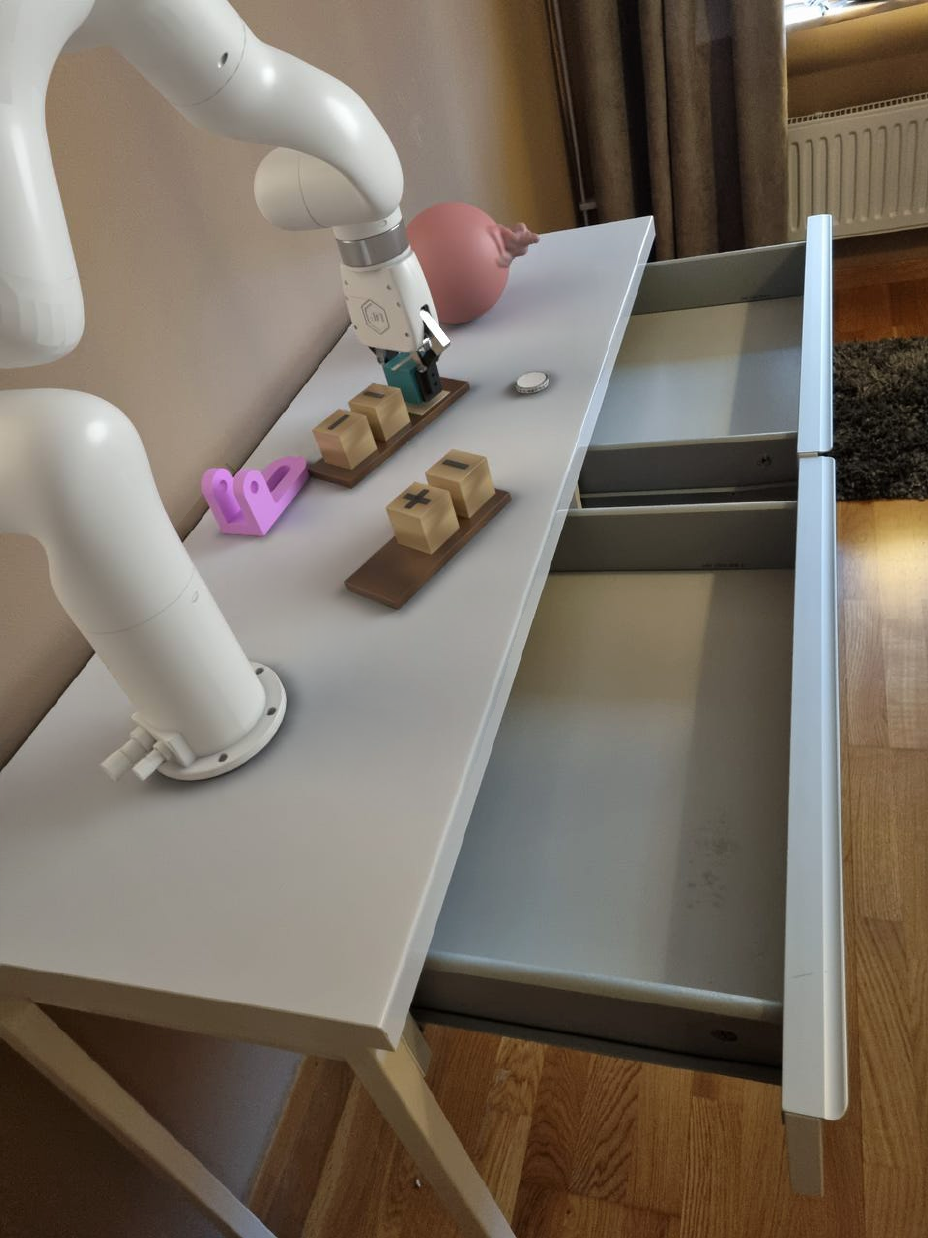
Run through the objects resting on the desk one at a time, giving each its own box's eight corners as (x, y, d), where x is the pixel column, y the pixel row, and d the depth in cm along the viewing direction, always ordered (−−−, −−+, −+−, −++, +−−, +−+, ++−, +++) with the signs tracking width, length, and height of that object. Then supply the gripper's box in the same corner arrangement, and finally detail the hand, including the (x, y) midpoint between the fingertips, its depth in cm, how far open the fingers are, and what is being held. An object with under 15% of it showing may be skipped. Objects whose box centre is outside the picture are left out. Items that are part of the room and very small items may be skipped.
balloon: (539, 335, 116) (518, 216, 106) (399, 349, 123) (366, 237, 112) (560, 283, 126) (542, 170, 116) (429, 298, 133) (402, 192, 123)
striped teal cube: (417, 406, 105) (406, 371, 102) (390, 401, 108) (379, 366, 105) (444, 384, 108) (435, 349, 105) (417, 379, 110) (407, 345, 107)
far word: (351, 488, 99) (335, 446, 95) (310, 476, 103) (293, 434, 100) (470, 388, 110) (460, 347, 106) (428, 381, 114) (417, 340, 110)
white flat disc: (553, 376, 107) (552, 371, 107) (541, 393, 105) (540, 388, 104) (523, 375, 109) (522, 370, 108) (510, 392, 106) (509, 387, 106)
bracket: (263, 535, 96) (238, 483, 92) (222, 533, 98) (196, 481, 94) (318, 466, 104) (298, 414, 100) (279, 465, 107) (257, 414, 102)
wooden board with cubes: (398, 610, 82) (381, 564, 78) (346, 589, 86) (327, 544, 82) (511, 499, 91) (500, 453, 87) (459, 485, 95) (447, 441, 91)
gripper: (298, 254, 99) (349, 398, 111) (408, 263, 89) (450, 420, 101) (343, 226, 102) (388, 368, 114) (453, 232, 93) (489, 387, 105)
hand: (417, 391), depth 108 cm, fingers closed on striped teal cube, 4 cm apart
